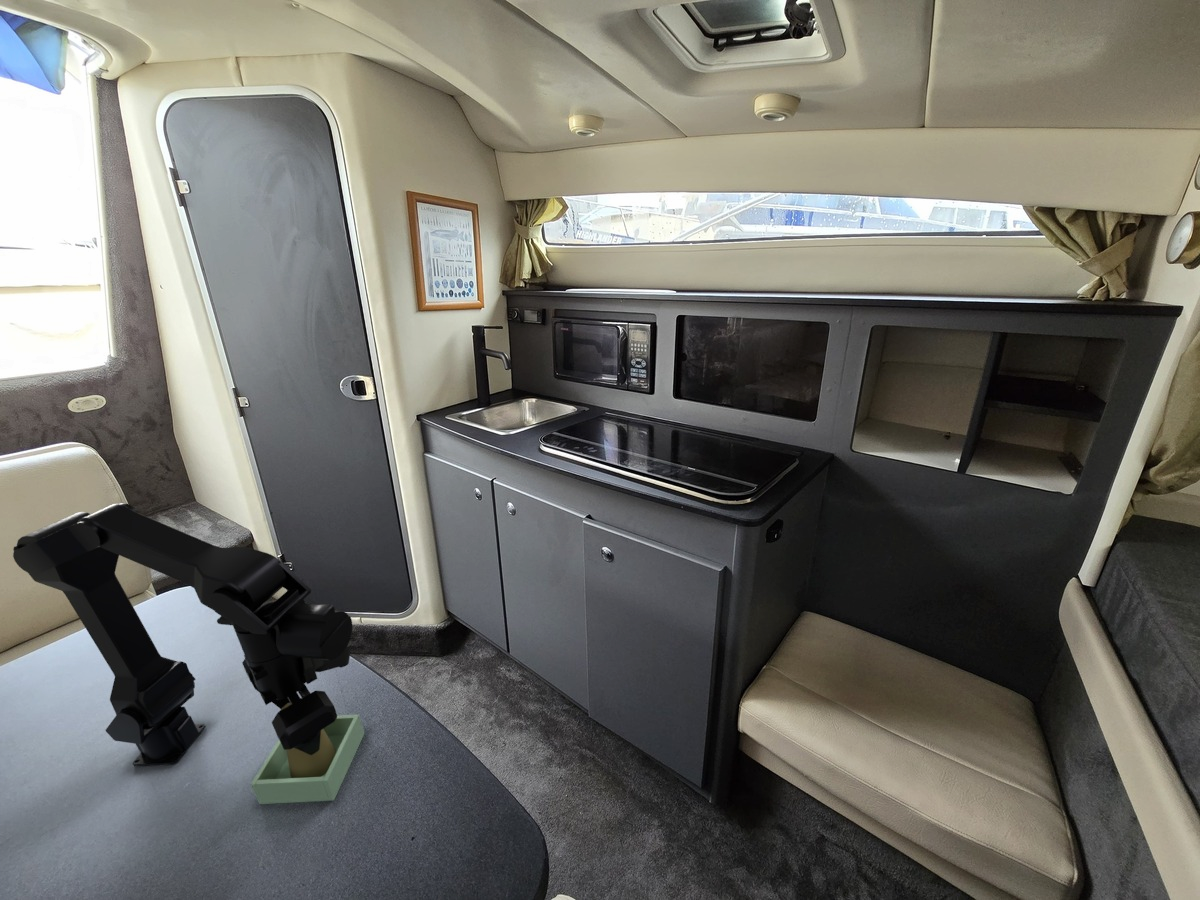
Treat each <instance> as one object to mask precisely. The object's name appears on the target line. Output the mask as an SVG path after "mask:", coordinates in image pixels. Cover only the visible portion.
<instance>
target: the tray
mask: <svg viewBox="0 0 1200 900" xmlns="http://www.w3.org/2000/svg"><path fill="white" fill-rule="evenodd" d="M324 731H325V732H326V734H327V736H328V737H329V739H330V741H331V742H332V744H333V746H334V747H335V749H336V755H335V757H334V759H333V761H332V763H331V765H330V767H329V769H328V771H327V773H325V774H324V775H323V776H321V777H307V778H291V775H290V769H289V763H288V757H287V751H286V750H284V748H283V746H282V744H281V742H280V740H279V739H278V740H277V742H276V743H275V744H274V746H273V747H272V749H271V751H270V753H269V754H268V755H267V757H266V759H265V761H264V762H263V764H262V766H261V767H260V768H259V770H258V772H257V773H256V775H255V776H254V778H253V780H252V781H251V783H250V786H251V788H252V791H253V793H254V795H255V796H256V799H257V801H258V804H259V805H272V804H287V803H288V804H289V803H290V804H291V803H293V804H294V803H310V802H312V803H313V802H329V801H333V802H334V801H335V800H336V797H337V794H338V793H339V791H340V788H341V786H342V784H343V781H344V779H345V777H346V776H347V773H348V771H349V769H350V766H351V764H352V762H353V760H354V758H355V755H356V754H357V751H358V749H359V746H360V744H361V742H362V741H363V738H364V736H365V730H364V727H363V724H362V720H361V718H360V714H341V715H339V714H337V718H336V720H335V722H333V723H332V724H330V725H328V726H327V727H325V728H324Z"/></svg>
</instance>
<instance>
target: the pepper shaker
mask: <svg viewBox="0 0 1200 900" xmlns="http://www.w3.org/2000/svg"><path fill="white" fill-rule="evenodd" d="M300 699H302V698H301V697H300ZM290 705H291V703H290V702H289V703H288V704H286V705H285V706H284V707H283V708H281V709H280V710H279V711H281V710H283V709H284V708H286V707H288V706H290ZM286 751H287V757H288V763H289V769H290V775H291V778H307V777H321V776H323V775H324V774H325V773H327V771H328V769H329V767H330V765H331V763H332V761H333V759H334V757H335V755H336V749H335V747H334V746H333V744H332V742H331V741H330V739H329V737H328V736H327V734H326V732H325V731H324V729H322V730H321V737H320V749H319V751H317V752H316V753H314V754H313V755H309V754H307V753H305V752H302V751H300V750H298V749H295V748H292V749H289V750H286Z"/></svg>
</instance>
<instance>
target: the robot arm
mask: <svg viewBox="0 0 1200 900" xmlns="http://www.w3.org/2000/svg"><path fill="white" fill-rule="evenodd" d="M12 549H13V553H12V557H13V561H14V562H15V563H16V565H17V566H18V568H20V569H21V570H22V571H24V572H26V573H27V574H28V575H29V576H30V577H31V579H32V580H33V581H34V582H36V583H38V584H41V585H44V586H47V587H50V588H53V589H55V590H58V591H61V592H62V593H63V594H64V595H65V597H66V599H67V601H68V602H69V604H70V605H71V607H72V608H73V610H74V612H75V614H76V615H77V617H78V618H79V620H80V621H81V623H82V625H83V626H84V628H85V630H86V631H87V633H88V634H89V636H90V638H91V639H92V641H93V643H94V644H95V646H96V647H97V649H98V651H99V652H100V654H101V656H102V657H103V659H104V660H105V662H106V664H107V665H108V667H109V669H110V671H111V672H112V674H113V675H114V676H113V677H114V679H113V682H112V683H113V684H112V687H111V691H110V696H109V701H110V704H111V706H112V709H113V710H114V713H115V717H114V718H113V719H112V720H111V722H110V723H109V725H108V726H107V727H106V728H105V732H106V734H107V735H109V737H110V738H111V739H112V740H113V741H115V742H121V743H128V744H135V746H136V747H137V749H138V751H139V753H140V754H139V755H138V756H137V757H136V758H135V759H134V760H133V762H132V766H133V767H135V768H136V767H137V768H138V767H155V766H173V765H176V764H177V763H178V762H180V760H181V759H182V757H183V756H184V755H185V754H186V752H187V751H188V750H189V749H190V748H191V746H192V745H193V744H194V742H195V741H196V740H197V739H198V738H199V736H200V735H201V734H202V732H203V731H204V730H205V728H206V725H205V723H195V722H194V719H193V717H192V716H191V715H189V713H188V711H187V709H186V706H184V705H185V704H186V703H187V702H188V701H189V700H190V699H192V698H193V697H194V696H195V687H196V684H195V681H196V678H195V676H194V674H193V673H192V672H191V671H190V670H189V667H188V665H187V663H186V662H184V661H180V660H179V661H177V660H174V659H170V658H167V657H164V656H162V655H161V654H160V653H159V650H158V648H157V647H156V646H155V645H156V644H155V643H154V641H153V640H152V637H151V636H150V634H149V632H148V631H147V629H146V627H145V625H144V624H143V622H142V620H141V619H140V616H139V615H138V613H137V611H136V609H135V607H134V606H133V604H132V602H131V601H130V598H129V596H128V595H127V593H126V591H125V589H124V588H123V586H122V584H121V582H120V581H119V579H118V577H117V575H116V570H117V566H118V561H119V557H123V558H125V559H128V560H130V561H132V562H135V563H137V564H138V565H141V566H144V567H147V568H148V569H151V570H153V571H156V572H157V573H160V574H163V575H165V576H167V577H170V578H171V579H174V580H177V581H179V582H182V583H183V584H185V585H188V586H189V587H191V588H193V589H194V591H195V594H196V596H197V598H198V600H199V602H200V604H201V605H203V606H205V607H207V608H209V609H210V610H212V611H214V612H215V613H216V614H217V615H219V618H217V619H216V623H217V624H218V625H222V626H223V625H224V626H225V625H226V626H232V627H233V629H234V632H235V635H236V637H237V639H238V642H239V645H240V647H241V649H242V652H243V657H244V659H243V661H242V662H241V663H242V666H243V668H244V671H245V673H246V676H247V678H248V679H249V681H250V683H251V684H252V686H253V689H254V690H256V692H258V693H259V695H260V697H261V698H262V701H263V702H264V704H265V706H267V705H269V704H271V703H272V704H273V705H275V706H276V707H277V708H278V709H280V710H281V708H283V707H284V706H285V705H286V704H288V703H289V702H290V703H291V705H290V706H288V707H286V708H284V709H283V710H281V711H280V710H279V711H277V713H276V714H275V715H274V718H273V720H272V721H271V725H272V727H273V729H274V732H275V734H276V736H277V738H278V740H280V742H281V744H282V746H283V748H284V750H289V749H292V748H295V749H298V750H300V751H302V752H305V753H307V754H309V755H313V754H314V753H316V752H317V751H319V749H320V737H321V730H322V729H324V728H325V727H327V726H328V725H330V724H332V723H333V722H335V720H336V718H337V716H338V713H337V710H336V707H335V705H334V703H333V702H332V700H331V699H330V697H329V696H328V694H327V693H326V691H324V690H314V691H312V692H310V689H308V687H307V685H309V684H311V683H313V682H314V681H316V680H317V679H318V676H317V673H321V672H325V671H329V670H333V669H336V668H340V669H341V668H344V667H346V666H348V665H349V664H350V658H351V652H352V651H351V650H352V644H353V643H352V641H351V638H352V634H353V633H352V632H353V620H352V616H351V615H349V614H348V613H347V612H346V611H344V610H343V611H342V610H335V606H334V605H333V604H325V603H322V604H311V603H306V602H305V599H306V598H307V597H308V596H309V595H310V594H311V593H312V591H313V590H312V589H311V588H310V587H309V586H308V585H307V584H306V583H305V582H304V578H302V577H301V576H299V575H298V574H297V573H295V572H294V571H293V570H291V569H290V568H289V567H288V566H287V565H286V564H284V563H283V562H282V561H281V560H280V559H279V558H278V557H277V556H275V555H273V554H271V553H268V552H264V551H262V550H257V549H254V548H250V547H247V546H233V547H231V546H230V547H221V546H217V545H214V544H212V543H209V542H207V541H205V540H203V539H200V538H198V537H195V536H193V535H191V534H188V533H186V532H183V531H181V530H179V529H176V528H174V527H172V526H170V525H167V524H164V523H163V522H160V521H158V520H155V519H153V518H150V517H148V516H147V515H143V514H142V513H140V512H139V511H138V510H137V509H136V507H134V505H133V506H132V505H131V504H130V503H127V502H120V503H113V504H110V505H108V506H106V507H104V508H101V509H99V510H96V511H95V512H92V513H90V512H86V511H79V512H75V513H73V514H71V515H69V516H66V517H65V518H62V519H60V520H57V521H55V522H53V523H51V524H48V525H46V526H44V527H43V526H42V528H39V529H37V530H33V531H32V532H30V533H27V534H25V535H22V536H21V537H20V538H18V539H17V543H16V545H15V546H13V548H12ZM282 589H285V590H287V591H285V592H284V593H283V594H282V595H281V596H279V598H277V599H276V600H274V601H270V600H269V599H271V598H272V597H273V596H274V595H275V594H277V593H278V592H279V591H280V590H282ZM306 684H307V685H306ZM300 698H302V699H300Z"/></svg>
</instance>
